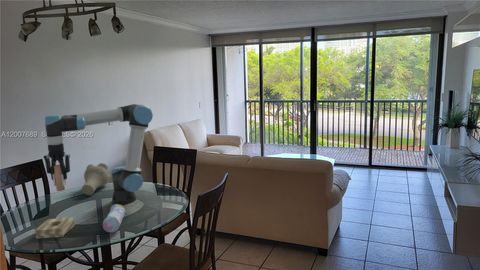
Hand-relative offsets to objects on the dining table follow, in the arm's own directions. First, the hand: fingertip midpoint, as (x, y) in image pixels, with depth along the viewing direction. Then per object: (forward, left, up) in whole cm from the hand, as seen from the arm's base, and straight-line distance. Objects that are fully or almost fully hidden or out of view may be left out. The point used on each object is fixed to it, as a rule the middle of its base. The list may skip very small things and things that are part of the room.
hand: (60, 185), depth 189 cm
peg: (0, 0, -3) cm, 3 cm away
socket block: (+2, +8, -24) cm, 25 cm away
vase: (+6, -58, -24) cm, 63 cm away
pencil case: (-29, +4, -24) cm, 38 cm away
